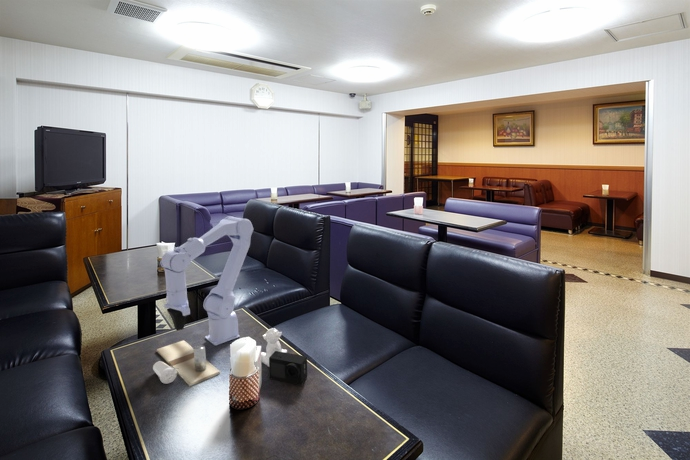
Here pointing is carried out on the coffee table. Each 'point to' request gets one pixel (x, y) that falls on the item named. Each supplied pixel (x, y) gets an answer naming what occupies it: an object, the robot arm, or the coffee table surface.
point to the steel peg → (200, 358)
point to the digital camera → (288, 367)
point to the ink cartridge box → (258, 363)
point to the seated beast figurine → (271, 345)
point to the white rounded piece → (165, 372)
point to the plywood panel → (186, 362)
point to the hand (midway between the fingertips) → (179, 329)
